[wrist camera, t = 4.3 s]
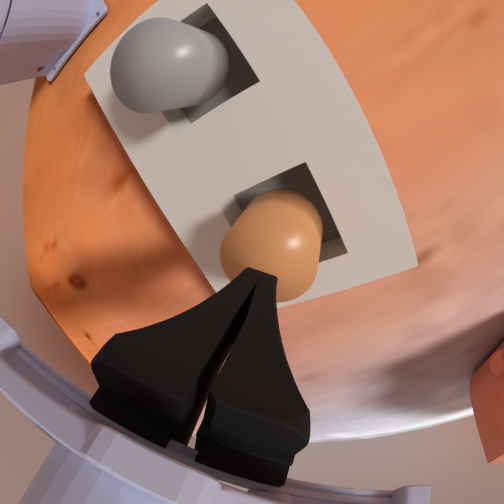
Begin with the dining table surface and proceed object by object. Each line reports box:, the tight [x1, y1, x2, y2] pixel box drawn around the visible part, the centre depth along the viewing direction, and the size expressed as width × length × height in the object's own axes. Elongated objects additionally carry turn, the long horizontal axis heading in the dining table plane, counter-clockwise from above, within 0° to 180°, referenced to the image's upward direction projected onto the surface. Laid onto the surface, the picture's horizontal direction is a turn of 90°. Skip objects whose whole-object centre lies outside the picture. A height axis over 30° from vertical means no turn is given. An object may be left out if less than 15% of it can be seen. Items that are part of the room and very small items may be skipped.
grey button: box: [110, 17, 229, 113], centre depth 12 cm, size 5×5×4 cm
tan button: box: [220, 189, 323, 303], centre depth 16 cm, size 5×5×4 cm
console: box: [84, 0, 418, 308], centre depth 17 cm, size 14×22×3 cm, turn 30°
